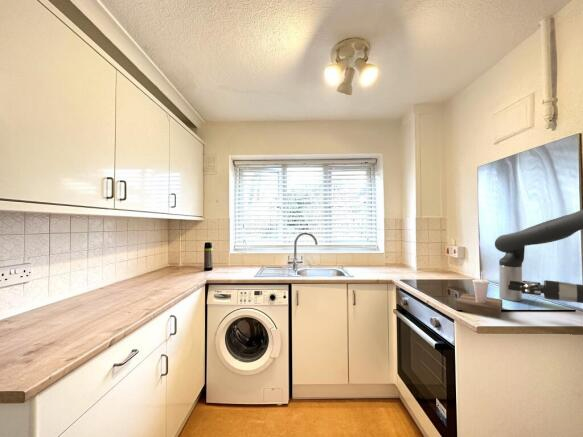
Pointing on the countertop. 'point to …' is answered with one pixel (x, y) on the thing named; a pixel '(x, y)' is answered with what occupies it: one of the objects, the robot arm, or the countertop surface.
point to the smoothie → (480, 289)
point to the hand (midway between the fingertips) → (509, 284)
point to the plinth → (479, 305)
